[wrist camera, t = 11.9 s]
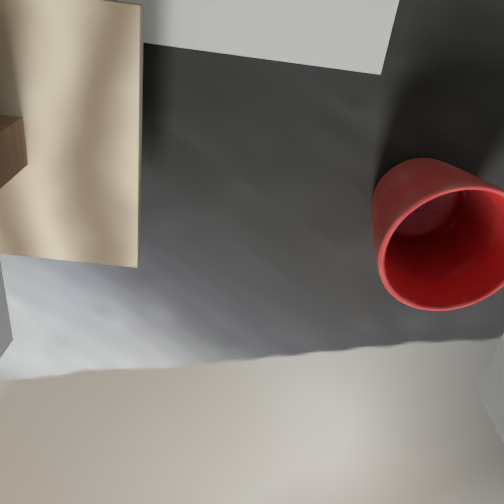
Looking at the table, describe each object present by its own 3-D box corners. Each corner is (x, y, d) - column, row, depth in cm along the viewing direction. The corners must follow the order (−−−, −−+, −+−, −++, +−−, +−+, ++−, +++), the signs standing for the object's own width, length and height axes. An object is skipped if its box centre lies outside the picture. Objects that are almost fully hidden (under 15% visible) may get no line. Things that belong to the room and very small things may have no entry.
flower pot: (468, 245, 46) (517, 307, 37) (351, 253, 46) (375, 317, 38) (487, 135, 40) (550, 179, 32) (355, 145, 41) (383, 191, 32)
